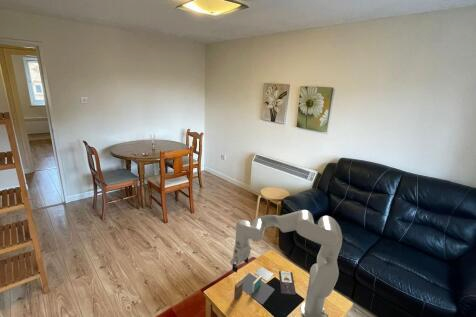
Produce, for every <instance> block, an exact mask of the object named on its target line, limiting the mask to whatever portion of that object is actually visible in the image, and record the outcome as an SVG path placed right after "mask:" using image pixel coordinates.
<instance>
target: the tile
mask: <svg viewBox="0 0 476 317" xmlns="http://www.w3.org/2000/svg"><path fill="white" fill-rule="evenodd" d="M256 278H257V279H256V280H255V281H254V282H253V288H252V292H253V293H254V292H255V291H256V290H257V289H258V288H259V287H260V285H261V281H262V276H261V275H260V276H258V277H256Z"/></svg>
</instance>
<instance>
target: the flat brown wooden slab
mask: <svg viewBox="0 0 476 317" xmlns="http://www.w3.org/2000/svg"><path fill="white" fill-rule="evenodd" d="M241 280H242V279H241ZM241 280H239V281H238V282H237V283H236V284H235V285H234V295H233V298H234V299H235V300H236V301H238V299H239V298H241V296H242V295H243V290H242V288H243V282H242V281H241Z"/></svg>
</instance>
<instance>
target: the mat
mask: <svg viewBox="0 0 476 317" xmlns="http://www.w3.org/2000/svg"><path fill="white" fill-rule="evenodd" d="M257 278H258V277H256V276H255V275H254V274H252V273H251V272H249V273H247V274H246V275H245V276H244V277H243V278H242V279H241V281H242V282H243V288H242V292H244V293H245V294H247V295H248V296H249V297H251V298H253V299H254V300H255V301H257V302H258V303H260V304H261V305H264V303H266V301H267V300H268V299H269V297H270V296H271V295H272V294H273V293H274V292H275V288H273V287H272V286H270V285H269V284H268V283H265V282H264V281H263V280H261V285H260V287H259V288H258V289H257V290H256V291H255V292H254V293H253V292H252V288H253V282H254V281H255V280H256V279H257Z"/></svg>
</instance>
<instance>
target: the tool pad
mask: <svg viewBox="0 0 476 317" xmlns="http://www.w3.org/2000/svg"><path fill="white" fill-rule="evenodd" d="M254 275H256V276H258V277H259V276H260V275H261V276H262V279H263V280H264V281H266V282H268V281H269V280H270V279H271V278H272V277H273V276H274V273H273V272H272V271H269V270H267V269H266V268H264V267H262V266H260V267H259V268H258V269H257V270H256V271H255V272H254ZM262 279H261V280H262Z"/></svg>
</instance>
